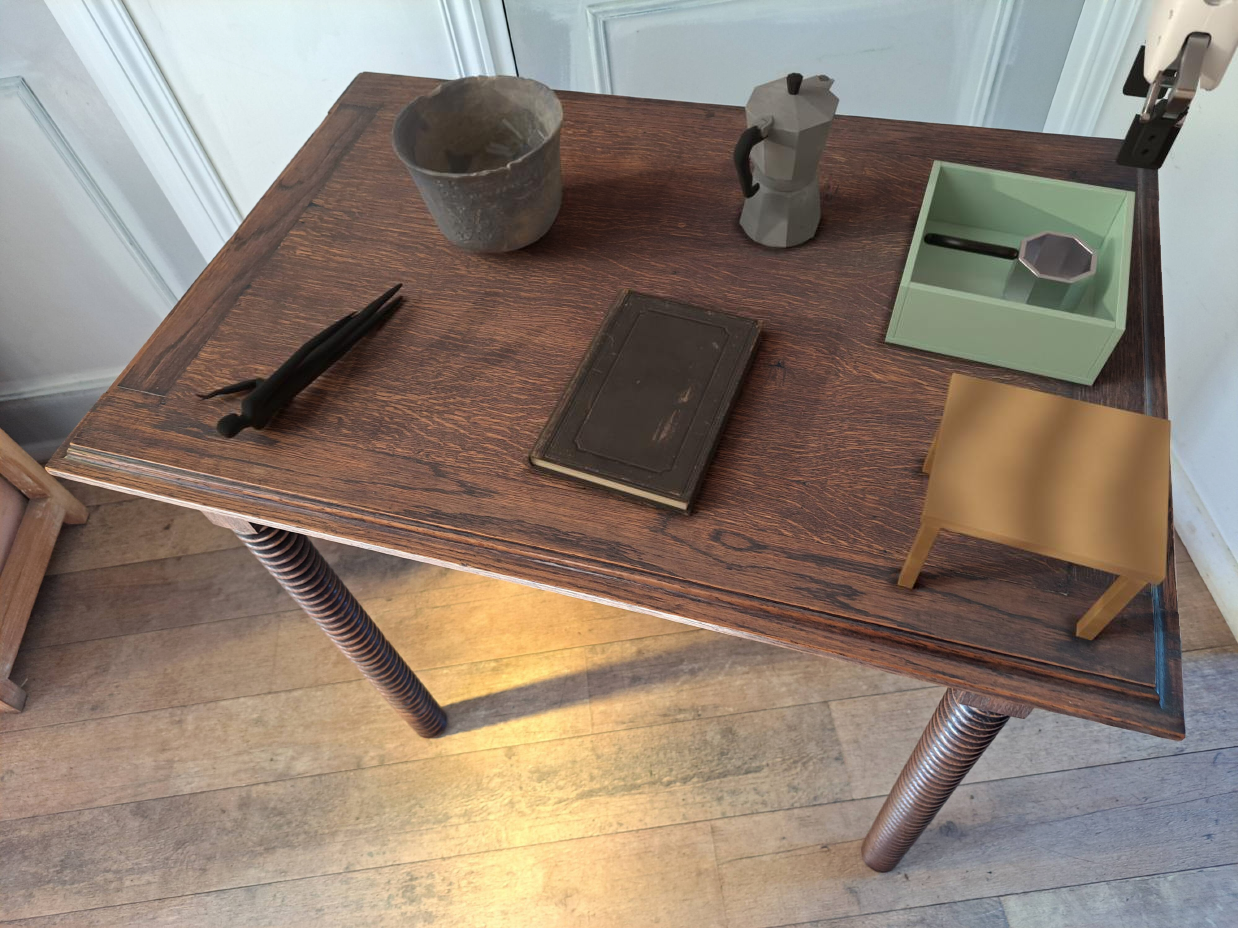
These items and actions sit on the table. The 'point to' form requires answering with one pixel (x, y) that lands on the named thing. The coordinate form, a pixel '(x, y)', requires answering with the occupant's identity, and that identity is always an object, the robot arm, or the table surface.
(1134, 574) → the stand
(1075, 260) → the saucepan
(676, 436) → the hardcover book
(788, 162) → the coffeepot
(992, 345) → the basin
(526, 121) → the cup
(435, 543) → the table surface
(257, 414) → the dark humanoid figurine
